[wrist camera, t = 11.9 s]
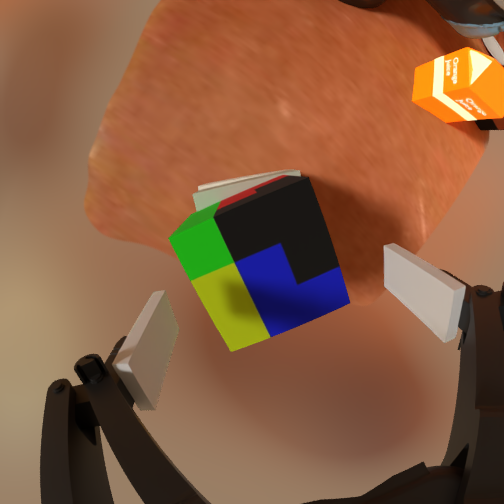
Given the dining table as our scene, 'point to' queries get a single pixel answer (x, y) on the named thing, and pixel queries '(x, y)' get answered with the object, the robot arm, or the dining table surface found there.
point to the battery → (491, 124)
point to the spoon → (494, 49)
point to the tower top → (233, 189)
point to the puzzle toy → (262, 260)
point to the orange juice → (461, 86)
